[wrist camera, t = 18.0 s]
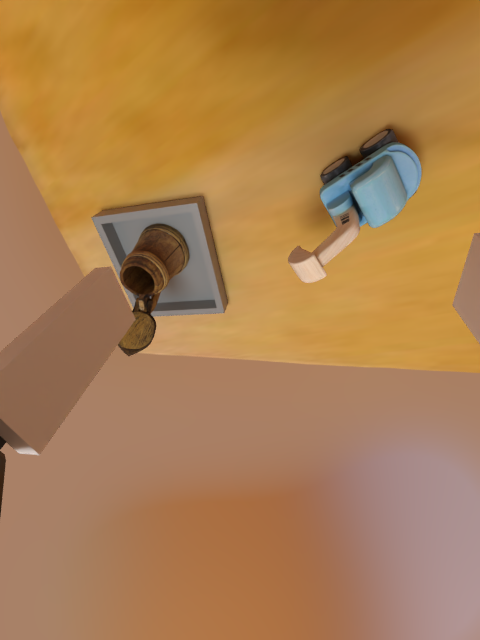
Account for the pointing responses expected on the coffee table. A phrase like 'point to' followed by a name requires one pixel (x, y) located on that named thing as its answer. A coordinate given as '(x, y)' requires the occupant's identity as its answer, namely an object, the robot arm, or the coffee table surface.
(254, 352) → the coffee table surface
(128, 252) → the slate tray
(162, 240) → the wooden mug
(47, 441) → the robot arm
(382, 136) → the toy excavator
